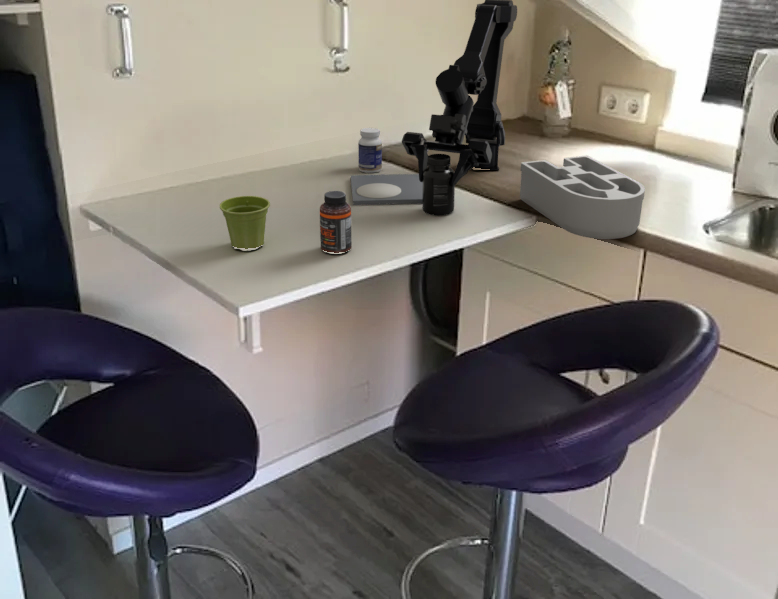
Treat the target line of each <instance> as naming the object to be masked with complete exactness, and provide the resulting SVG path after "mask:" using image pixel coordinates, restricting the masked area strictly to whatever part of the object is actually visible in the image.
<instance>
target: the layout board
mask: <svg viewBox="0 0 778 599" xmlns="http://www.w3.org/2000/svg"><path fill="white" fill-rule="evenodd" d="M350 187H351V196H352V205H353V206H367V205H368V206H371V205H373V206H374V205H379V206H380V205H409V204H411V205H412V204H413V205H417V204H421V205H422V189H423V181H422V182H420V181H419V173H402V174H401V173H399V174H398V173H393V174H392V173H391V174H355V175H354V174H352V175H350Z"/></svg>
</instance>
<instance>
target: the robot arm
mask: <svg viewBox="0 0 778 599" xmlns="http://www.w3.org/2000/svg"><path fill="white" fill-rule="evenodd" d="M517 15H518V6H517V5H515V4H514V2H513V0H484V2H482V3H477V4H476V8H475V11H474V21H473V23H472V28H471V31H470V34H469V37H468V39H467V44H466V45H465V46H466V47H465V49H464V52H463V54H462V55H461V56H460V57H458V58H457V59H456V60H455V61H454V64H449V67H448V68H447V69H445V70H443V71H441V72H440V73H439V74H438V75H437V76H436V78H435V86H436V88H437V91H438V93H439V94H438V95H439V96H440V99H441V101H442V102H441V103H443V104H444V105H445V106H444V110H443V112H442V114H433V113H432V114H431V116H430V122H429V128H428V130H429V131H432V132H431V133H432V134H431V136H432V138H433V139H434V138H435V140H429V139H427V140H426V139H425V138H426V137H425V136H424V133H421V132H414V131H413V132H412V131H407V132H406V133H404V134H403V135H402V139H401V143H402V144H401V145H402V146H403V147H404V150H405V152H406V153H407V155H409V156H414V157H415V158H416V159H417V163H418V165H417V166H418V174H419V181H420V182H422V181H423V172H424V170H425V169H426V168H428V166H427V162H428V156H429V154H428V153H429V150H430V151H436V152H445V153H453V154H459V156H458V157H459V158H458V161H457V163H456V164H457V165H456V166H455V169H454V175H453V178H452V182H451V185H452V186H455V187H456V185H457V183H458V182H459V181H460V180H461V179H462V178H463V177H464V176H466V175H467V173H468V172H469V171H470V170H472V168H473V167H475V168H481V169H490V170H497V171H500V167H499V150H500V149H499V148H500V147H501V146H505V144H506V131H505V128H504V124H503V121H502V112H501V111H500V108H499V106H498V104H497V100H498V93H499V92H498V91H499V83H500V79H501V78H500V77H501V68H502V62H503V60H502V59H503V54H504V45H505V40H506V39H507V37H509V35H510V34H511V32H512V31H513V29H514V28H513V27H514V23H515V22H516V20H517V17H518V16H517ZM471 95H473V96H477V99H476V102H475V103H474V100H473V98H472V97H471ZM464 138H465V143H466V144H463V141H464Z"/></svg>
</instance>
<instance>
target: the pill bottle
mask: <svg viewBox="0 0 778 599" xmlns="http://www.w3.org/2000/svg"><path fill="white" fill-rule="evenodd" d="M359 132H360V133H359V135H360V136H361V137H360V138H359V139H358V145H357V146H358V148H357V149H358V152H357V153H358V170H359V171H360V172H362V173H367V174H374V173H379V172H381V171H382V168H383V143H382V142H383V141H382V139H381V138H380V136H381V131H380V129H379V128H377V127H363V128H361V129H360V131H359Z"/></svg>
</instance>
